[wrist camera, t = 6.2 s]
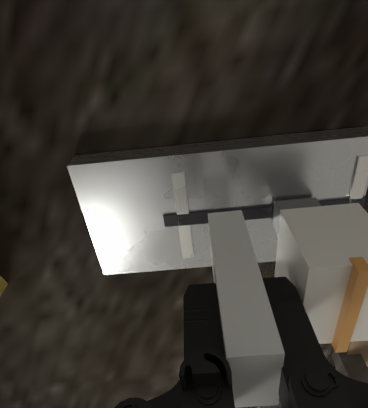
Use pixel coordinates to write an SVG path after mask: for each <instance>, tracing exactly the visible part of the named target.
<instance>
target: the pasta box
mask: <svg viewBox="0 0 368 408" xmlns="http://www.w3.org/2000/svg"><path fill="white" fill-rule="evenodd" d="M7 285H8V283H7V282H6V281H5V280H4V279H3V278H2V277H1V276H0V296H1V294H2V293H3V291H4V290H5V288H6V286H7Z"/></svg>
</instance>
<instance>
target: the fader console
mask: <svg viewBox="0 0 368 408" xmlns="http://www.w3.org/2000/svg"><path fill="white" fill-rule="evenodd" d="M67 169H68V171H69V174H70V177H71V180H72V183H73V186H74V189H75V192H76V195H77V198H78V201H79V204H80V207H81V210H82V213H83V216H84V218H85V221H86V224H87V227H88V230H89V233H90V236H91V239H92V242H93V245H94V248H95V251H96V254H97V257H98V260H99V263H100V265H101V268H102V271H103V274H104V275H111V274H124V273H136V272H148V271H161V270H173V269H185V268H198V267H210V266H212V262H211V250H210V237H209V225H208V213H216V212H227V211H237V210H242V213H243V216H244V220H245V223H246V226H247V230H248V233H249V236H250V240H251V243H252V246H253V250H254V253H255V256H256V259H257V263H259V262H271V261H276V254H277V242H278V236H277V234H276V232H275V229H274V227H273V224H272V222H273V208H274V201H281V200H292V199H303V198H314V197H316V198H317V200H318V201H319V203H320V204H321V205H322V206H328V205H339V204H350V203H359V204H360V205H361V206H362V207H363V208H364V205H365V201H366V197H365V195H366V191H367V188H368V127H367V126H363V127H353V128H343V129H333V130H323V131H313V132H303V133H293V134H283V135H273V136H263V137H253V138H243V139H233V140H223V141H213V142H203V143H193V144H183V145H173V146H163V147H153V148H143V149H133V150H123V151H112V152H102V153H92V154H82V155H74V156H73V158H72V159H71V161H70V162H69V163H68V165H67Z"/></svg>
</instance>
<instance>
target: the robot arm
mask: <svg viewBox="0 0 368 408" xmlns="http://www.w3.org/2000/svg"><path fill="white" fill-rule="evenodd" d="M208 225H209V237H210V250H211V262H212V270H213V278H214V283H210V284H198V285H189V286H188V289H187V291H186V293H185V295H184V361H183V363H182V364H181V367H180V372H179V378H180V380H179V381H178V383H177V384H176V385H175V386H174V387H173V388H172V389H171V390H170V391H168V392H166V393H165V394H162V395H160V396H158V397H156V398H153V399H151V400H149V401H145V400H143V399H141V398H129V399H126V400H124V401H122V402H120V403H119V404H118V405H117V406H116V407H115V408H236V407H252V406H269V405H278V404H279V398H280V402H281V406H282V408H368V383H365V382H361V381H357V380H354V379H351V378H349V377H347V376H345V375H343V374H341V373H340V372H338V371H337V370H336V369H335V368H334V367H332V365H331V364H330V363H329V362H328V361H327V359H326V357H325V355H324V354H323V351H322V349H321V347H320V344H319V342H318V339H317V337H316V334H315V332H314V330H313V327H312V325H311V322H310V320H309V318H308V315H307V313H306V310H305V308H304V305H303V303H302V302H301V298H300V296H299V293H298V291H297V288H296V287H295V286H294V285H293V284H292V283H291V282H290V281H289V280H288V279H287V277H273V278H262V276H261V273H260V269H259V266H258V263H257V259H256V256H255V253H254V250H253V246H252V243H251V240H250V236H249V233H248V230H247V226H246V223H245V220H244V216H243V213H242V210H237V211H227V212H216V213H208Z"/></svg>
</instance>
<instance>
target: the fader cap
mask: <svg viewBox="0 0 368 408" xmlns="http://www.w3.org/2000/svg"><path fill="white" fill-rule="evenodd" d="M272 224H273V227H274V229H275V232H276V234H277V236H278V242H277V254H276V266H275V277H287V279H288V280H289V281H290V282H291V283H292V284H293V285H294V286H295V287H296V288H297V291H298V293H299V296H300V298H301V302H302V303H303V305H304V308H305V310H306V313H307V315H308V318H309V320H310V322H311V325H312V327H313V330H314V332H315V334H316V337H317V339H318V342H319V344H326V343H331V344H332V346H333V348H334V351H335V353H340V352H347V349H348V346H349V343H350V342H355V341H368V213H367V212H366V211H365V210H364V208H363V207H362V206H361V205H360V204H359V203H350V204H339V205H328V206H322V205H321V204H320V203H319V201H318V200H317V198H316V197H314V198H303V199H292V200H281V201H274V208H273V222H272Z"/></svg>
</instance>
